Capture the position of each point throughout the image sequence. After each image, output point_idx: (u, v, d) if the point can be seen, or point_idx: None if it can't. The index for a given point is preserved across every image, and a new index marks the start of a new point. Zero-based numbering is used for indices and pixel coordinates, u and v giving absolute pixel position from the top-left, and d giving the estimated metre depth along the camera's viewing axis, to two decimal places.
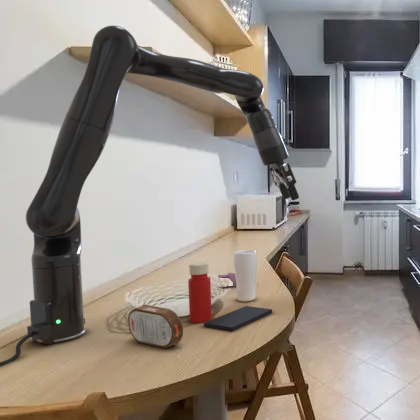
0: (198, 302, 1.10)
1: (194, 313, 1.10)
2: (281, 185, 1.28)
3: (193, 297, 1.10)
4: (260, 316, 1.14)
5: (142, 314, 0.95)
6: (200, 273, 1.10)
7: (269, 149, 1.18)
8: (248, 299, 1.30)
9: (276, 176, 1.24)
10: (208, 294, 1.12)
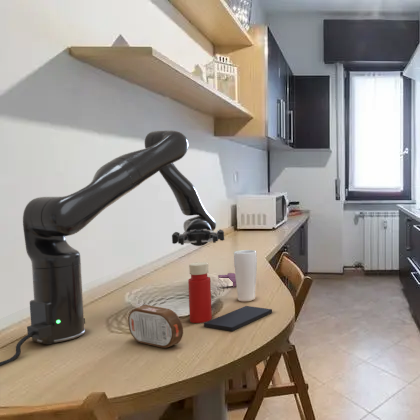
0: (198, 302, 1.10)
1: (194, 313, 1.10)
2: None
3: (193, 297, 1.10)
4: (260, 316, 1.14)
5: (142, 314, 0.95)
6: (200, 273, 1.10)
7: (210, 227, 1.37)
8: (248, 299, 1.30)
9: (192, 232, 1.28)
10: (208, 294, 1.12)
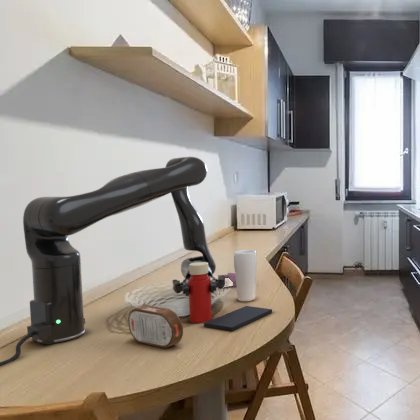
0: (198, 302, 1.10)
1: (194, 313, 1.10)
2: None
3: (193, 297, 1.10)
4: (260, 316, 1.14)
5: (142, 314, 0.95)
6: (200, 273, 1.10)
7: (211, 271, 1.26)
8: (248, 299, 1.30)
9: None
10: (208, 294, 1.12)
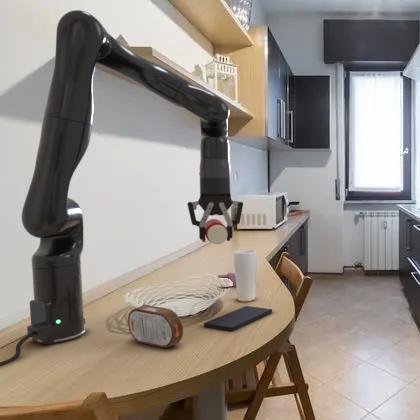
0: None
1: None
2: (204, 224, 1.11)
3: None
4: (260, 316, 1.14)
5: (142, 314, 0.95)
6: None
7: (229, 179, 1.11)
8: (248, 299, 1.30)
9: (210, 210, 1.10)
10: None
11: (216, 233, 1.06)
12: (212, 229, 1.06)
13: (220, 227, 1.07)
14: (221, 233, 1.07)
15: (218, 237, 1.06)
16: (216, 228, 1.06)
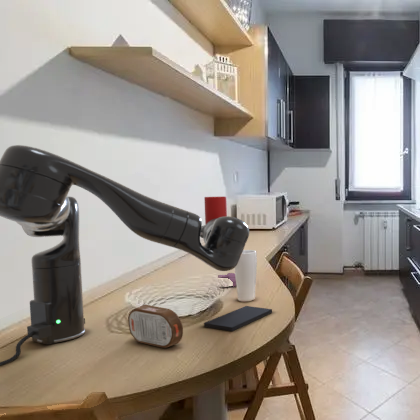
0: None
1: None
2: None
3: None
4: (260, 316, 1.14)
5: (142, 314, 0.95)
6: None
7: None
8: (248, 299, 1.30)
9: None
10: None
11: None
12: None
13: None
14: None
15: None
16: None
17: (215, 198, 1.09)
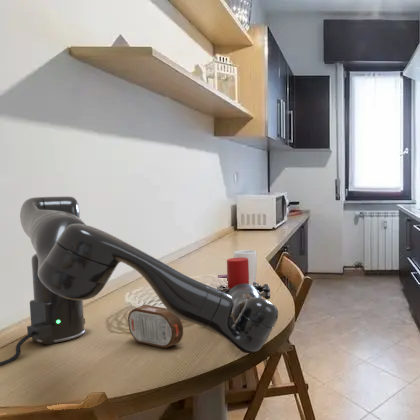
0: None
1: None
2: None
3: None
4: None
5: (142, 314, 0.95)
6: None
7: None
8: None
9: None
10: None
11: None
12: None
13: None
14: None
15: None
16: None
17: (238, 262, 1.10)
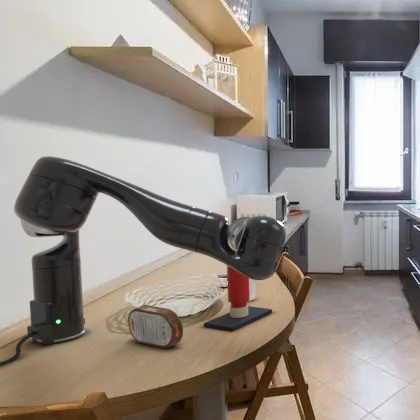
0: None
1: None
2: None
3: None
4: (260, 316, 1.14)
5: (142, 314, 0.95)
6: None
7: None
8: None
9: None
10: None
11: None
12: None
13: (242, 316, 1.12)
14: None
15: None
16: None
17: None
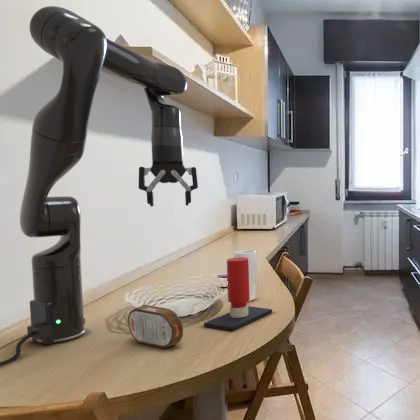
0: None
1: None
2: (151, 190, 1.13)
3: None
4: (260, 316, 1.14)
5: (142, 314, 0.95)
6: None
7: (181, 147, 1.14)
8: None
9: (161, 177, 1.13)
10: None
11: None
12: None
13: (242, 316, 1.12)
14: None
15: None
16: None
17: (238, 262, 1.10)
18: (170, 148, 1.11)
